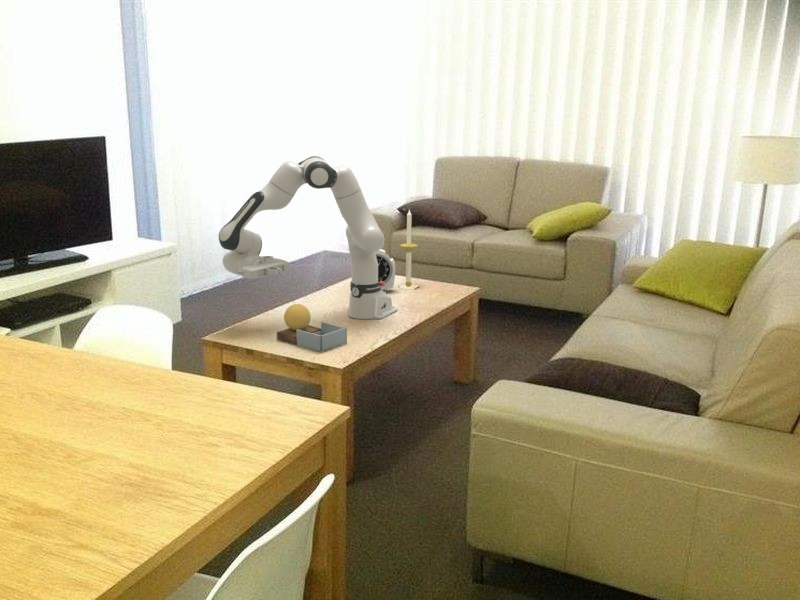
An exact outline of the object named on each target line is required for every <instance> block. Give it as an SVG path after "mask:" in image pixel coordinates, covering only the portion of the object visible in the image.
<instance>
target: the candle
mask: <svg viewBox="0 0 800 600" xmlns="http://www.w3.org/2000/svg"><path fill="white" fill-rule="evenodd" d="M412 215H413V214H412V213H411V210H410V208H409V209H408V213H406V243H400V245H399V247H401V248H406V250H405V260H406V261H405V284H406V286H407V287H410V286H411V284H412V252H413V251H412V248H417V247H418V246H419V244H417V243H412V219H413V218H412Z"/></svg>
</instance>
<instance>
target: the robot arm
mask: <svg viewBox="0 0 800 600" xmlns="http://www.w3.org/2000/svg"><path fill="white" fill-rule="evenodd" d="M306 184H308V186H310V187H311V188H313V189H321V190H322V189H329V188H330V190H331V192H332V195H333V197H334V199H335V201H336V204H337V205H336V206H337V207H338V210H339V212H340V214H341V216H342V218H343V219H344V221H345V222H346V224H347V226H346V228H345V236H346V239H347V245H348V253H349V257H350V266H351V268H350V270H351V271H350V273H351V281H350V285H349V286H350V293H349V303H348V308H346V309H347V310H346V311H347V316H348V317H350V318H353V319H358V320H372V319H373V320H376V319H377V320H381V319H384V318H386V317H388V316H390V315H392V314H394V313H396V312H397V311H398V308H397V307H396V306H393V303H392V298H391V296H390V295H389V294H388V293H385V292H383V291H382V290H381V287H380V286H385V282H382V281H380V282H378V261H377V259H376V255H375V252H376V251H378V250H380V249H382V248H383V247H384V245H385V241H386V240H385V235H384V233H383V232H382V230H381V228H380V226H379V225H378V223H377V221H376V218H375V216H374V215H373V213H372V212H371V210H370V208H369V205H368V204H367V202H366V199H365V197H364V194H363V192H362V189H361V186H360V184H359V182H358V179H357V178H356V176H355V174H354V172H353V171H352V169H351V168H350V167H349V166H347V165H338V166H336V167H332V166H331V165H330V164H329V163H328V162H327V161H326V160H325V159H323V158H322V157H320V156H317V155H314V156H310V157H307V158H305V159H303V160H301V161H300V162H298V163H296V162H295V161H292V160H291V161H289V160H288V161H285V162H283V163H282V164H281V165H280V167H279V168H278V169H277V170H276V171H275V172H274V174H273V175H272V176H271V178H270V180H269V181H268V182H267V184H266V185H265V186H264V187H263V188H262V189H260V190H259V191H256V192H254V193H253V194H252V195H251V196H249V198H248V199H247V200H246V201H245V202H244V203H243V205H242V206H241V207H240V208H239V210H238V211H237V212H236V213H235V214H234V215H233V216H232V218H231V219H230V220H229V221H228V222H227V223H226V224H225V225H224V226H223V227H222V228H221V229H220V230H219V233H218V241H219V244H220V247H222V249H225V250H228V252H226V253H225V254H224V255H223V257H222V265H223V266H224V269H225V270H226V271H227V272H229V273H232V274H234V275H237V276H241V277H242V278H244V279H245V278H246V279H247V280H254V279H255V280H258V279H261V278H263V277H267V276H278V275H282V274H283V273H286V272H289V270H290V263H289V262H288V261H287V260H284V259H281V258H276V257H275V258H274V256H273V255H272V256H271V255H267V256H265V255H264V256H260V254H261V251H262V248H263V240H262V237H261V235H259V234H258V233H256V232H253V231H251V230H248V229H245V228H246V226H247V225H248V224H249V223H250V221H251V220H252V219H253V218H254V217H255V215H256V214H258V213H259V212H262V211H267V210H268V211H273V210H274V211H277V210H281V209H285V208H286V207H287V206H288V205H289V204H290V203H291V202H292V200H293V199H294V197H295V195H296V193H297V191H298V189H299V188H301V187H302V186H303V185H306ZM395 311H396V312H395ZM393 312H394V313H393ZM391 313H392V314H391Z"/></svg>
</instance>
